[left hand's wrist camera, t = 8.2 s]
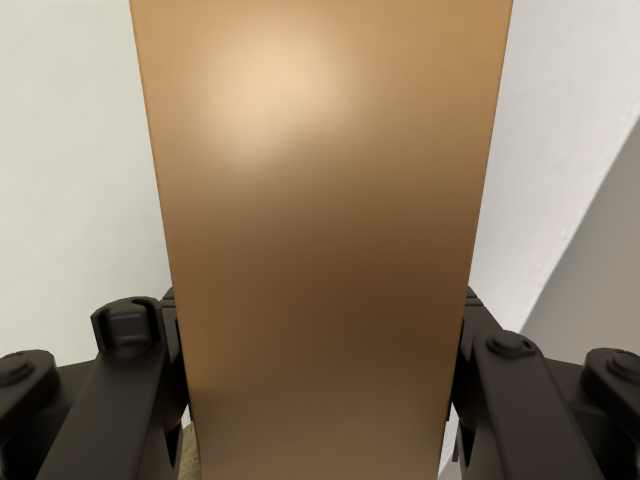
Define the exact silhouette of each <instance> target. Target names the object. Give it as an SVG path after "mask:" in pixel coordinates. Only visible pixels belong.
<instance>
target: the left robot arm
mask: <svg viewBox="0 0 640 480" xmlns="http://www.w3.org/2000/svg"><path fill="white" fill-rule="evenodd" d="M90 318H91V322H92V326H93V330H94V334H95V338H96V342H97V346H98V350H99V352H98V354H97V356H96V358H95V359H94V360H91V361H87V362H82V363H77V364H71V365H66V366H61V367H57V366H56V362H55V359H54V356H53V355H52V354H51V353H50V352H48V351H44V350H38V349H37V350H27V351H20V352H16V353H12V354H9V355H6V356H4V357H3V358H0V480H178V477H179V469H180V461H181V453H182V445H183V437H184V436H183V428H182V422H181V418H182V416H183V413H184V411H185V409H186V406H187V404H188V407H189V413H190V419H191V421H193V417H192V410H191V403H190V397H189V390H188V384H187V377H186V371H185V364H184V357H183V351H182V344H181V338H180V331H179V325H178V318H177V312H176V305H175V298H174V292H173V287H171V288H170V289H169V290H168V291H167V293H166V294H165V295H164V297H163V300H160V302H159V301H158V300H157V299H155V298H151V297H146V296H143V297H129V298H124V299H119V300H117V301H114V302H111V303H108V304H106V305H104V306H103V307H101V308H99V309H97V310H96V311H95V312H94V313H93V314H92V315H91V316H90ZM452 403H453V405H454V407H455V410H456V412H457V414H458V417H459V422H458V428H457V434H456V440H455V446H454V451H453V459H452V461H453V462H457V461H458V456H459V460H460V468H461V475H462V480H640V356H637V355H636V354H634V353H631V352H628V351H624V350H620V349H611V348H597V349H592V350H591V351H590V352H588V353H587V355H586V358H585V361H584V364H583V366H582V365H577V364H572V363H567V362H562V361H557V360H552V359H548V358H544V356H543V354H542V352H541V350H540V349H539V348H538V347H537V345H536V344H535V343H533V342H532V341H531V340H529V339H528V338H526V337H524V336H522V335H520V334H517V333H515V332H512V331H508V330H503V329H502V327H501V326H500V325H499V324H498V322H497V321H496V320H495V318H494V317H493V316H492V315H491V313H490V312H489V311H488V309H487V308H486V307H485V306H484V304H483V303H482V302H481V300H480V299H479V298H477V295H476V294H475V293H474V292H473V290H472V289H471V288H470V287H469V286H468V288H467V294H466V301H465V307H464V313H463V319H462V326H461V332H460V338H459V345H458V351H457V357H456V363H455V370H454V376H453V382H452V389H451V395H450V401H449V407H448V414H447V420H446V421H449V417H450V411H451V405H452Z"/></svg>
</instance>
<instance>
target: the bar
mask: <svg viewBox="0 0 640 480" xmlns="http://www.w3.org/2000/svg"><path fill="white" fill-rule="evenodd" d="M129 3H130V10H131V17H132V23H133V30H134V36H135V43H136V49H137V56H138V62H139V69H140V76H141V82H142V89H143V95H144V102H145V108H146V115H147V121H148V128H149V135H150V141H151V148H152V154H153V161H154V167H155V174H156V180H157V187H158V194H159V200H160V207H161V213H162V220H163V226H164V233H165V239H166V246H167V253H168V259H169V266H170V272H171V279H172V285H173V292H174V298H175V305H176V312H177V318H178V325H179V331H180V338H181V344H182V351H183V357H184V364H185V371H186V377H187V384H188V390H189V397H190V403H191V410H192V417H193V423H194V430H195V436H196V443H197V449H198V456H199V462H200V469H201V476H202V480H437V476H438V470H439V464H440V458H441V451H442V445H443V439H444V433H445V426H446V420H447V414H448V407H449V401H450V395H451V389H452V382H453V376H454V370H455V363H456V357H457V351H458V345H459V338H460V332H461V326H462V319H463V313H464V307H465V301H466V294H467V288H468V282H469V275H470V269H471V263H472V257H473V250H474V244H475V238H476V231H477V225H478V219H479V213H480V206H481V200H482V194H483V187H484V181H485V175H486V169H487V162H488V156H489V150H490V143H491V137H492V131H493V125H494V118H495V112H496V106H497V99H498V93H499V87H500V81H501V74H502V68H503V62H504V55H505V49H506V43H507V37H508V30H509V24H510V18H511V11H512V5H513V0H129Z"/></svg>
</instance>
